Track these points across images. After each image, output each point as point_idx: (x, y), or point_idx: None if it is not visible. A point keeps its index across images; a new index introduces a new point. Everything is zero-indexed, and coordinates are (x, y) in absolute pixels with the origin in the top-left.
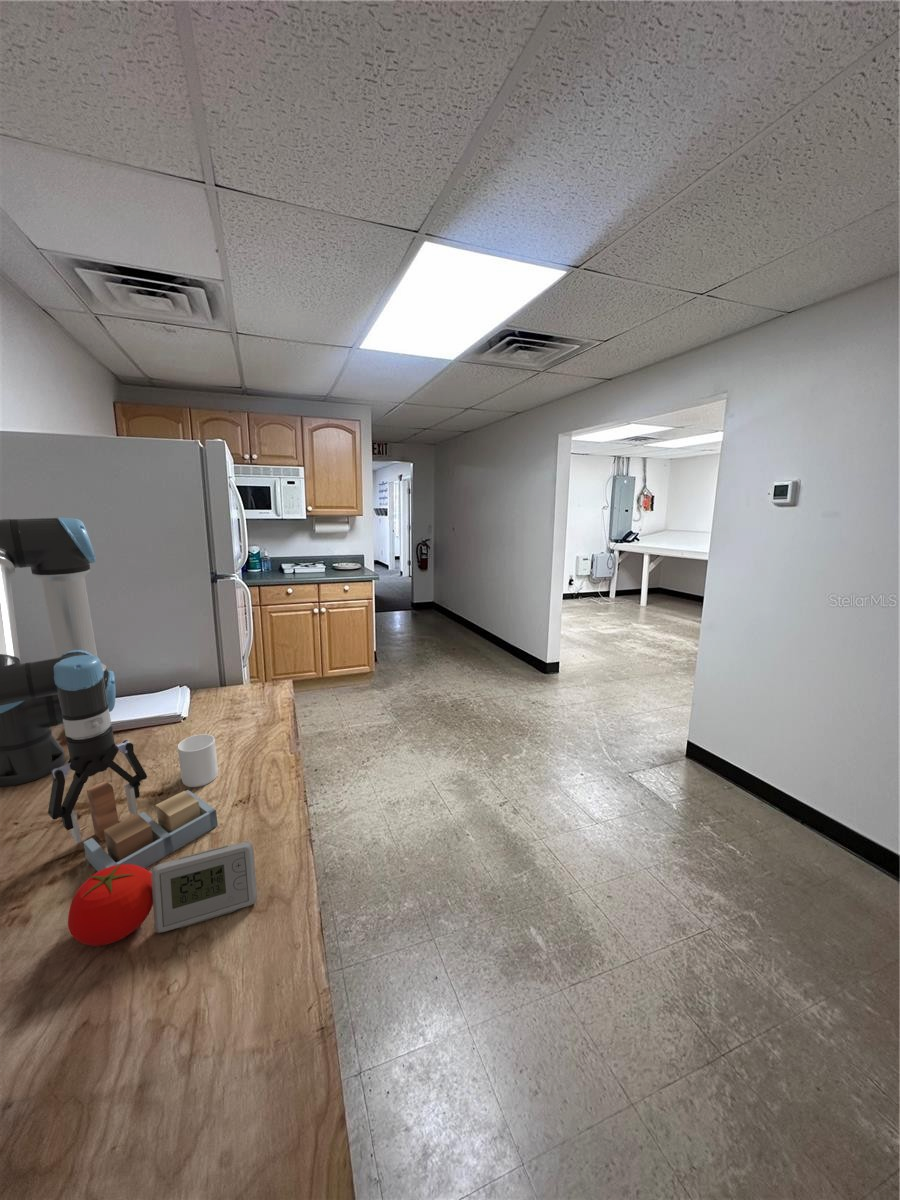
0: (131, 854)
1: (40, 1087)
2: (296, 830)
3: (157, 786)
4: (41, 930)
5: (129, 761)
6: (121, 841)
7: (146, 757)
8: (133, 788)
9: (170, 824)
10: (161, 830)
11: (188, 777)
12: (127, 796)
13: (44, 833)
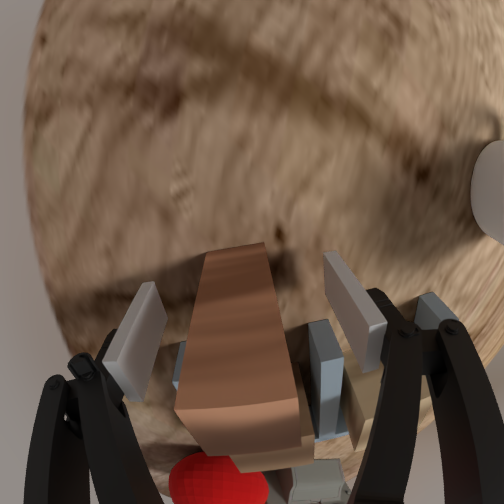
0: None
1: (165, 486)
2: (433, 419)
3: (429, 119)
4: (132, 422)
5: (459, 451)
6: (249, 471)
7: None
8: (376, 365)
9: (349, 434)
10: (331, 425)
11: (493, 224)
12: (346, 302)
13: (82, 137)
